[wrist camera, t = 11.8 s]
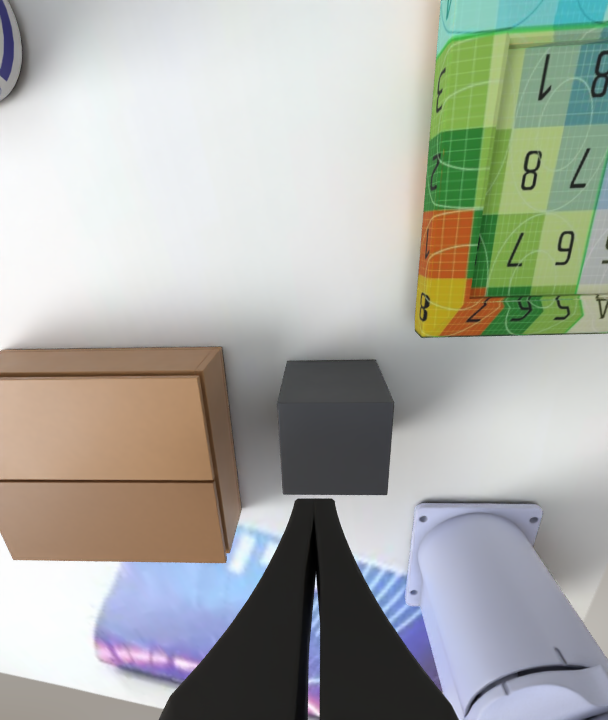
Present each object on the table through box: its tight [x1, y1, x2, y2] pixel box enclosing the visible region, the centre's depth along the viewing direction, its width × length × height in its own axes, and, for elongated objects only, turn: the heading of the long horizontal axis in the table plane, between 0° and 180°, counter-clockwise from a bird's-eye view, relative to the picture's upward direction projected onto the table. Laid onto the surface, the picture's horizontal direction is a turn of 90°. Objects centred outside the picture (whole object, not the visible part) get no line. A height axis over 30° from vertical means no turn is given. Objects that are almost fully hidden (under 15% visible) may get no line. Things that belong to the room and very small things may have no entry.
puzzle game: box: [415, 0, 608, 338], centre depth 12 cm, size 12×5×20 cm
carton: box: [0, 347, 241, 553], centre depth 20 cm, size 12×13×4 cm
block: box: [277, 360, 394, 495], centre depth 18 cm, size 5×5×5 cm
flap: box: [0, 479, 227, 563], centre depth 19 cm, size 6×13×1 cm, turn 91°
